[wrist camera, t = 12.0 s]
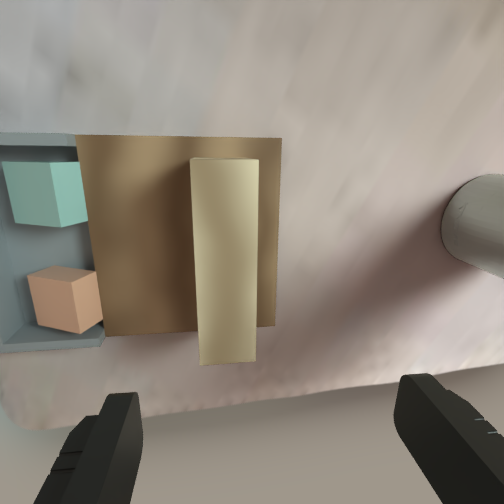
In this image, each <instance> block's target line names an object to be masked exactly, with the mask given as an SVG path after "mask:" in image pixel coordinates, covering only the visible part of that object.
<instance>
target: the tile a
mask: <svg viewBox="0 0 504 504" xmlns="http://www.w3.org/2000/svg"><path fill="white" fill-rule="evenodd" d="M2 166H3V171H4V175H5V180H6V184H7V189H8V193H9V197H10V202H11V206H12V211H13V215H14V220H15V223H21V224H31V225H40V226H50V227H60V228H62V227H66V226H69V225H73V224H77V223H81V222H85V221H88V216H87V210H86V203H85V196H84V190H83V183H82V177H81V170H80V164H79V162H65V161H4V162H2Z"/></svg>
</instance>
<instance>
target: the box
mask: <svg viewBox="0 0 504 504" xmlns="http://www.w3.org/2000/svg"><path fill="white" fill-rule="evenodd" d="M4 161H65V162H79V160H78V154H77V147H76V140H75V135H73V134H62V133H4V132H0V353H11V352H26V351H41V350H56V349H71V348H86V347H100V346H101V344H102V342H103V340H104V338H105V331H104V324H103V320H101V321H100V322H98V323H96V324H95V325H93V326H92V327H90V328H89V329H87V330H86V331H84V332H83V333H81V334H78V333H73V332H69V331H64V330H60V329H55V328H51V327H46V326H42V325H38V322H37V318H36V313H35V309H34V304H33V300H32V295H31V291H30V286H29V282H28V277H27V275H29V274H32V273H35V272H38V271H40V270H43V269H46V268H48V267H51V266H54V265H56V266H63V267H70V268H76V269H83V270H90V271H95V265H94V259H93V252H92V245H91V239H90V232H89V226H88V221H85V222H81V223H77V224H73V225H69V226H66V227H62V228H60V227H50V226H40V225H31V224H21V223H15V220H14V215H13V211H12V206H11V202H10V197H9V193H8V189H7V184H6V180H5V175H4V171H3V166H2V162H4Z"/></svg>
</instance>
